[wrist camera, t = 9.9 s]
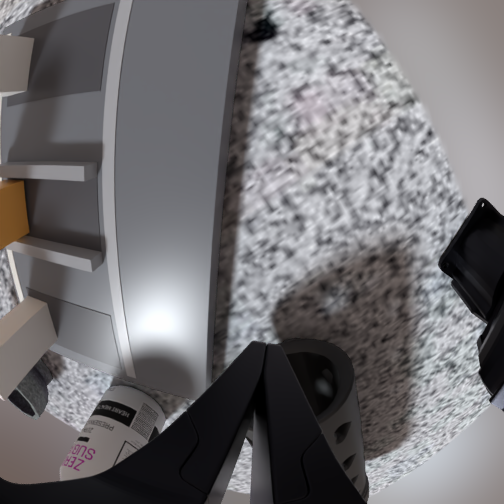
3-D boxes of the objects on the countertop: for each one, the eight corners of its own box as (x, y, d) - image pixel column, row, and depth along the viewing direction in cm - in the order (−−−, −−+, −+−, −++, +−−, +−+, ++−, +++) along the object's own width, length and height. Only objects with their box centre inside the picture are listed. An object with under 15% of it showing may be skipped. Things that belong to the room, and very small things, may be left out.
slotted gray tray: (250, -16, 14) (195, -133, 2) (211, 384, 28) (176, 493, 17) (22, 30, 16) (-79, 26, 4) (43, 329, 30) (-16, 394, 18)
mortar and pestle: (72, 389, 34) (32, 448, 23) (45, 391, 37) (10, 439, 26) (23, 327, 31) (-29, 382, 20) (3, 337, 33) (-41, 382, 23)
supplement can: (156, 430, 34) (118, 519, 21) (103, 398, 33) (54, 483, 20) (177, 408, 31) (134, 517, 17) (115, 371, 30) (53, 473, 16)
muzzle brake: (348, 318, 23) (366, 425, 14) (366, 463, 33) (370, 524, 23) (236, 339, 25) (207, 440, 16) (302, 472, 35) (297, 532, 26)
